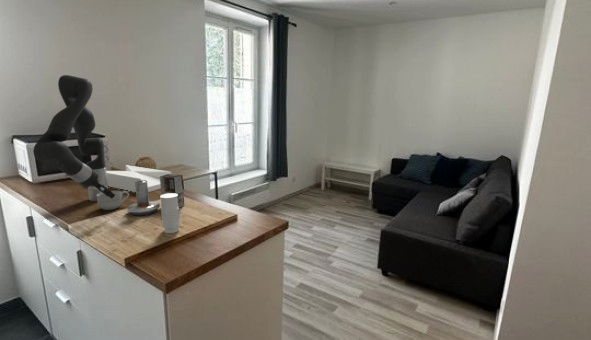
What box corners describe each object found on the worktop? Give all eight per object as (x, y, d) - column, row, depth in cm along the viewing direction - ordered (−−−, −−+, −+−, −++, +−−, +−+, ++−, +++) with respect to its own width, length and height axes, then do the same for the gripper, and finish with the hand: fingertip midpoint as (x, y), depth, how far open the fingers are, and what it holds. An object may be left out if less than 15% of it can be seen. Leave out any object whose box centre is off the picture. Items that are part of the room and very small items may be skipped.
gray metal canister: (135, 206, 149) (132, 181, 146) (145, 203, 153) (142, 179, 151) (141, 208, 146) (139, 183, 144) (151, 205, 151) (149, 180, 148)
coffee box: (185, 205, 161) (183, 174, 157) (176, 209, 155) (174, 177, 151) (170, 203, 164) (168, 173, 160) (161, 207, 158) (159, 176, 154)
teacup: (97, 213, 148) (95, 197, 147) (99, 206, 158) (97, 191, 156) (130, 209, 155) (128, 193, 153) (130, 202, 164) (128, 188, 162)
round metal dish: (121, 213, 148) (120, 207, 148) (148, 205, 160) (147, 199, 159) (139, 218, 141) (139, 212, 141) (166, 210, 153) (165, 204, 152)
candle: (182, 231, 128) (180, 196, 125) (164, 235, 124) (161, 199, 121) (178, 225, 134) (176, 192, 131) (161, 229, 130) (158, 194, 127)
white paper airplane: (95, 185, 200) (93, 170, 198) (126, 178, 219) (125, 164, 217) (142, 194, 180) (140, 178, 178) (172, 186, 199) (171, 171, 198)
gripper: (99, 174, 128) (123, 193, 142) (80, 160, 134) (105, 180, 147) (84, 188, 125) (110, 206, 139) (66, 174, 131) (92, 192, 145)
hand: (107, 192), depth 143 cm, fingers open, 8 cm apart
